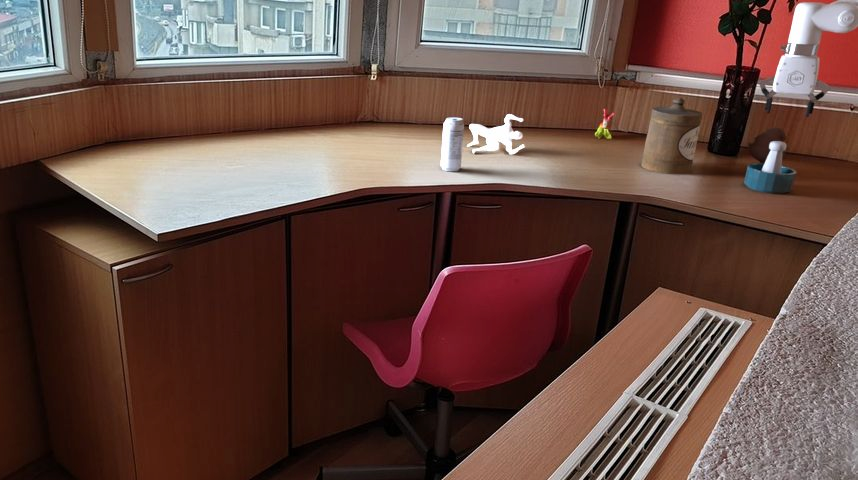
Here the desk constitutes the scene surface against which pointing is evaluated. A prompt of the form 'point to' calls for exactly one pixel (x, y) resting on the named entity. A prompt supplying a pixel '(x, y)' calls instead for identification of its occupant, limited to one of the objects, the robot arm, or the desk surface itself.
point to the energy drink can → (452, 144)
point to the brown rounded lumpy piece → (765, 143)
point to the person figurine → (497, 136)
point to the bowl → (769, 179)
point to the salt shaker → (774, 157)
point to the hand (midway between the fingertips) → (787, 114)
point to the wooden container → (671, 139)
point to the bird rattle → (604, 126)
